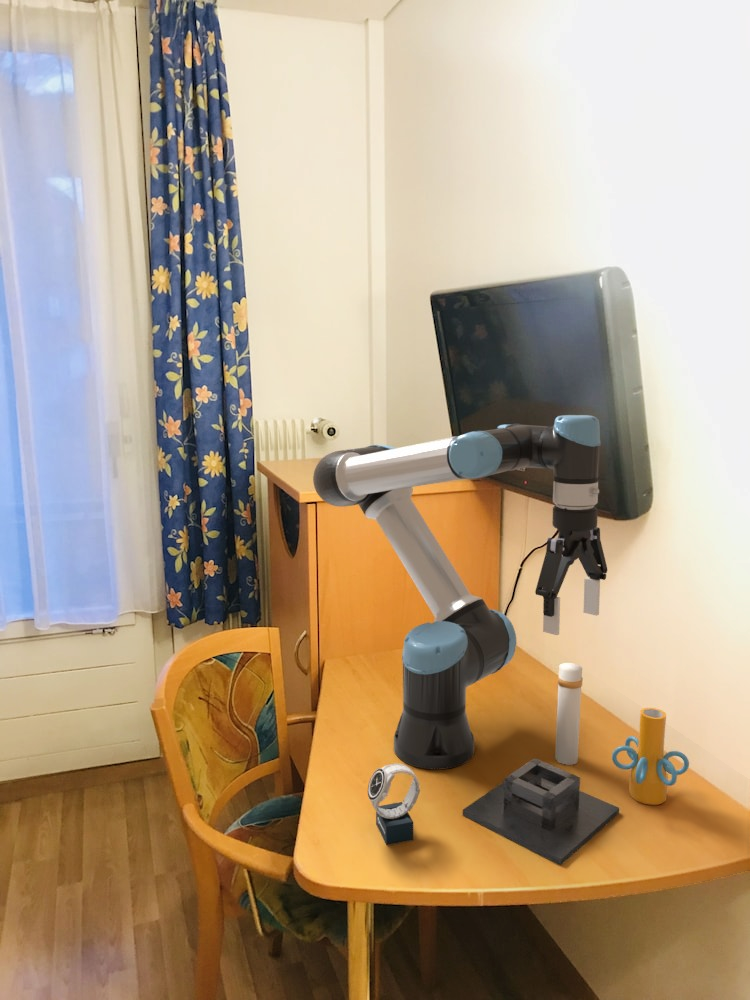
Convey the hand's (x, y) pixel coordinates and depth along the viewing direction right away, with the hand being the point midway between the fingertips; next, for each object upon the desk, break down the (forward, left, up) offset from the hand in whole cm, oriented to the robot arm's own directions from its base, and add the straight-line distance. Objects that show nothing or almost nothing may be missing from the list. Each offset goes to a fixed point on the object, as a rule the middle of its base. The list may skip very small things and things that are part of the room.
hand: (571, 623), depth 137 cm
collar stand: (+6, -18, -26) cm, 32 cm away
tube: (0, 0, -26) cm, 26 cm away
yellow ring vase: (+16, -1, -27) cm, 31 cm away
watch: (-8, -38, -27) cm, 47 cm away
